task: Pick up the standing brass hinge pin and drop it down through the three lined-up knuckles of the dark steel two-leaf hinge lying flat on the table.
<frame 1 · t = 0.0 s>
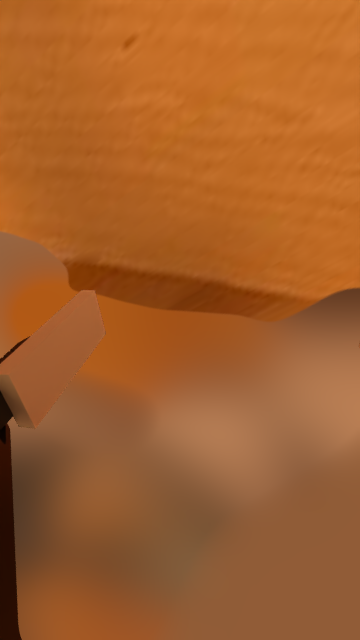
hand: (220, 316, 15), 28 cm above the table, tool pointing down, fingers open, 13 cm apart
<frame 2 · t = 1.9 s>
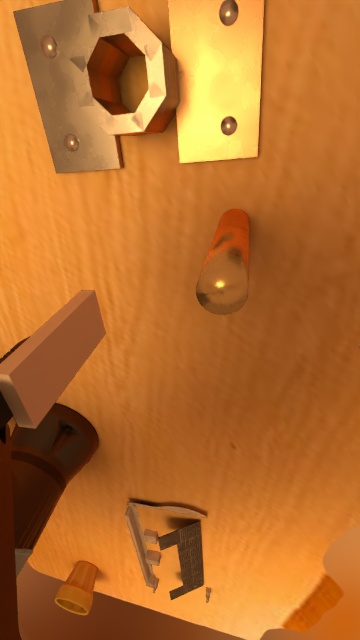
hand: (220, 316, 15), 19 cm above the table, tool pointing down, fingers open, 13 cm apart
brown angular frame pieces: (173, 545, 74), on the table
plant pot: (87, 564, 92), on the table
hinge: (143, 88, 26), on the table
hinge pin: (234, 224, 30), on the table
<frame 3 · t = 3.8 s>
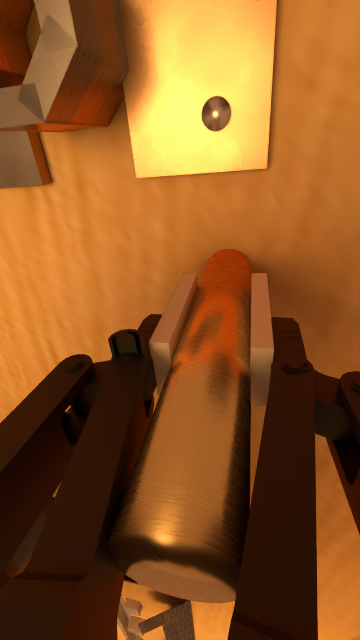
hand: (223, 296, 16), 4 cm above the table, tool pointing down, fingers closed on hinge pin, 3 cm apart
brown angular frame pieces: (160, 614, 63), on the table
hinge: (67, 48, 15), on the table
hinge pin: (228, 271, 19), on the table, touching gripper
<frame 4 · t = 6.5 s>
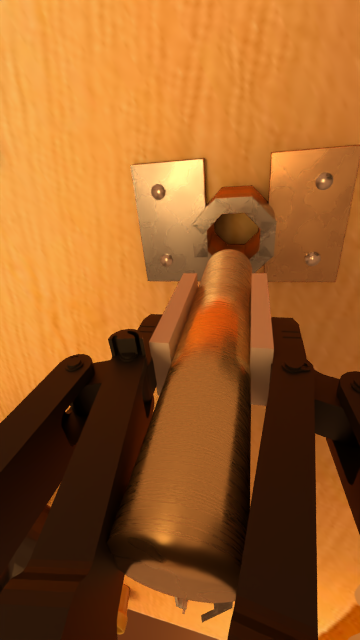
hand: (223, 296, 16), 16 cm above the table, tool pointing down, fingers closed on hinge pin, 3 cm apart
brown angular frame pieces: (206, 572, 78), on the table
plant pot: (120, 585, 97), on the table
hinge: (236, 222, 30), on the table
hinge pin: (228, 271, 19), point 13 cm above the table, touching gripper
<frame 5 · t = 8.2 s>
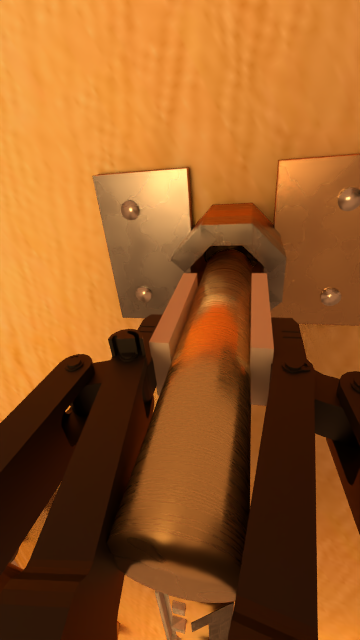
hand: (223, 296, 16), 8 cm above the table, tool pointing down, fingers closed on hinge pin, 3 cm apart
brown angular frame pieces: (200, 614, 72), on the table
hinge: (231, 249, 23), on the table
hinge pin: (228, 271, 19), point 5 cm above the table, touching gripper
when the fingers open (8 cm above the table, at t = 9.3 s): hinge pin drops 3 cm, resting in hinge.
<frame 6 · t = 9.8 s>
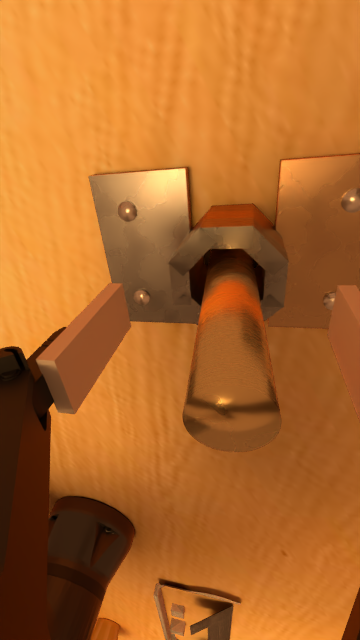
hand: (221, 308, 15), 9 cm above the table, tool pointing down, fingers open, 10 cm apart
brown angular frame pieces: (199, 617, 71), on the table
plant pot: (109, 621, 89), on the table
hinge: (232, 251, 23), on the table
hinge pin: (230, 252, 23), resting in hinge
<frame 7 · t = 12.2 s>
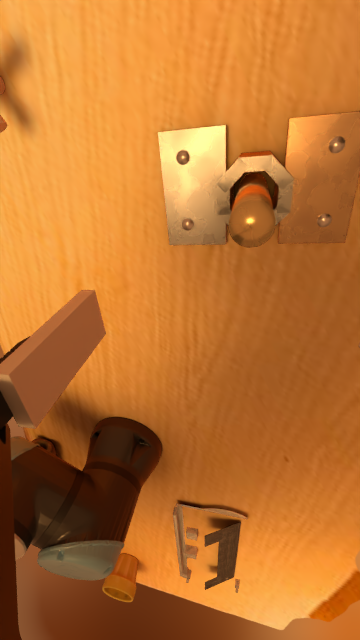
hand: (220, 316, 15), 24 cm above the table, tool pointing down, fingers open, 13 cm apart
stone weight: (50, 452, 74), on the table
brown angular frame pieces: (210, 542, 82), on the table
plant pot: (128, 557, 101), on the table
hinge: (254, 187, 33), on the table
hinge pin: (252, 187, 33), resting in hinge
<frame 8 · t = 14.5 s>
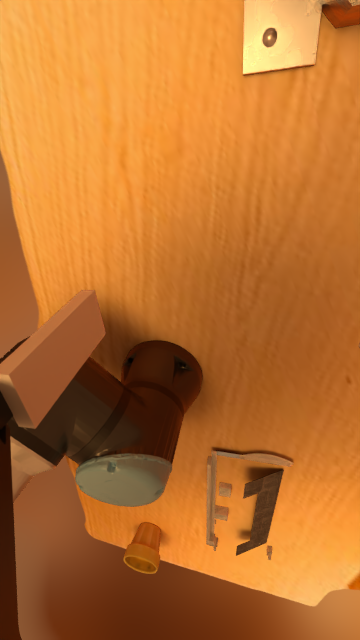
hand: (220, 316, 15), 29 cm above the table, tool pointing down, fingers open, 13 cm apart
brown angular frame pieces: (243, 500, 75), on the table
plant pot: (150, 527, 93), on the table
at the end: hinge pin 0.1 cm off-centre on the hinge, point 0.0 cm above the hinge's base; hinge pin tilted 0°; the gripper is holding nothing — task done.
